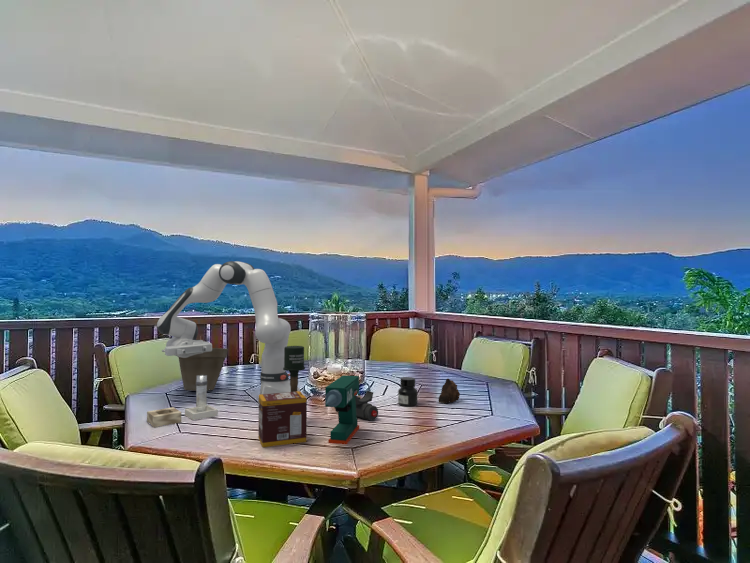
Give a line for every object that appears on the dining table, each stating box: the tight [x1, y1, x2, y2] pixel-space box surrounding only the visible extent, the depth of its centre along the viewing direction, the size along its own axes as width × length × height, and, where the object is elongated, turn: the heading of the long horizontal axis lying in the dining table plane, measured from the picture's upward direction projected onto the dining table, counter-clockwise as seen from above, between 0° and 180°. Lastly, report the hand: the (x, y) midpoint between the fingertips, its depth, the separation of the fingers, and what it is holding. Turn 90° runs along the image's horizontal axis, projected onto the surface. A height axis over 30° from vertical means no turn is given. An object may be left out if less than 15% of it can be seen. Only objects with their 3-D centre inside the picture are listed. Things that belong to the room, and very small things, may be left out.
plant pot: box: [176, 347, 229, 392], centre depth 230 cm, size 25×25×22 cm
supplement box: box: [257, 390, 308, 448], centre depth 155 cm, size 10×15×16 cm
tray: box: [184, 404, 219, 421], centre depth 185 cm, size 10×10×3 cm
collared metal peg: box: [195, 375, 208, 413], centre depth 185 cm, size 4×4×16 cm
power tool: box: [324, 374, 360, 445], centre depth 154 cm, size 32×7×20 cm, turn 168°
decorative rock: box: [438, 378, 461, 404], centre depth 209 cm, size 12×6×11 cm, turn 132°
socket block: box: [146, 406, 182, 428], centre depth 176 cm, size 10×10×4 cm
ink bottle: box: [397, 376, 418, 407], centre depth 204 cm, size 10×9×12 cm
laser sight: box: [333, 390, 379, 422], centre depth 186 cm, size 10×22×10 cm, turn 45°
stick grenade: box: [283, 345, 306, 392], centre depth 176 cm, size 8×9×30 cm
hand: (194, 350), depth 198 cm, fingers open, 8 cm apart
